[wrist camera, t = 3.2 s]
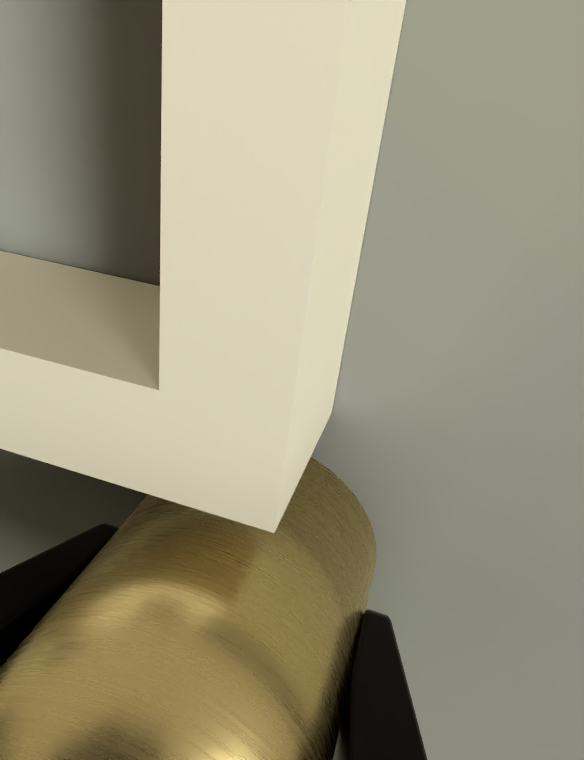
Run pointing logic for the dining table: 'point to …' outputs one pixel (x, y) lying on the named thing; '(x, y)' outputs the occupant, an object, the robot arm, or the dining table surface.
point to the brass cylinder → (199, 638)
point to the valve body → (217, 268)
